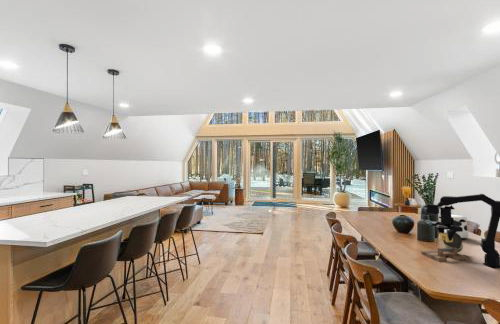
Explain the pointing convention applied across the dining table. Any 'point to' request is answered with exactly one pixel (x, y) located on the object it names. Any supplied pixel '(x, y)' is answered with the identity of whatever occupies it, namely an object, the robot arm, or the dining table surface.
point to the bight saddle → (445, 237)
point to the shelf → (444, 254)
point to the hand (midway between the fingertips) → (446, 239)
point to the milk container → (462, 224)
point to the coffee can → (454, 242)
